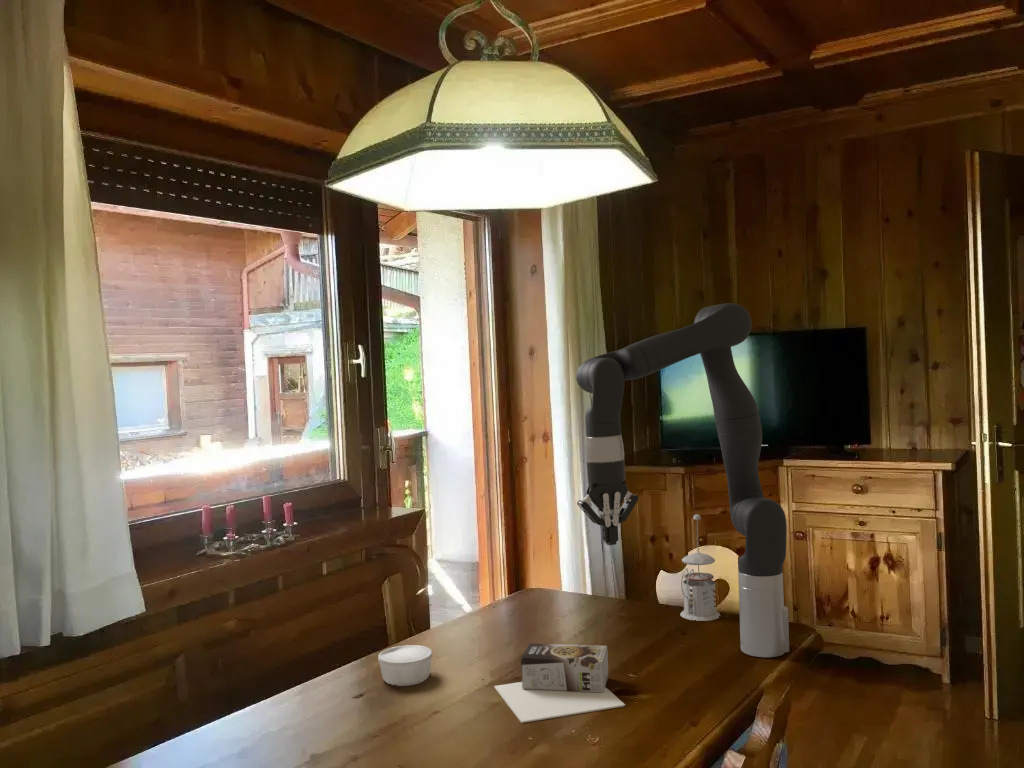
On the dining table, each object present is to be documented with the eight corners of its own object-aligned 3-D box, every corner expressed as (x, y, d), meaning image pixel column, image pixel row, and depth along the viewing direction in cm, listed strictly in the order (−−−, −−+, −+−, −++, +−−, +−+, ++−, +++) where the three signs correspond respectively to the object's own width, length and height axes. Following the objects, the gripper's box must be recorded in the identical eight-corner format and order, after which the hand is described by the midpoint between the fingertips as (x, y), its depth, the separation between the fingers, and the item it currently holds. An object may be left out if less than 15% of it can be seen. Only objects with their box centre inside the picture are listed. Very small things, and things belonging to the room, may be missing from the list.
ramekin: (401, 665, 184) (400, 641, 184) (444, 673, 178) (443, 648, 178) (367, 683, 174) (366, 657, 174) (411, 692, 169) (410, 665, 169)
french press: (728, 613, 212) (724, 513, 212) (703, 625, 204) (700, 520, 203) (693, 606, 219) (690, 509, 218) (668, 617, 210) (664, 516, 210)
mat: (588, 673, 175) (588, 671, 175) (625, 706, 158) (624, 704, 158) (494, 687, 169) (494, 685, 169) (521, 723, 152) (521, 721, 152)
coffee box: (603, 660, 163) (520, 657, 166) (604, 693, 163) (521, 690, 167) (607, 644, 172) (528, 641, 175) (608, 675, 172) (529, 672, 176)
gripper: (627, 453, 176) (632, 536, 177) (567, 459, 172) (573, 545, 173) (643, 456, 169) (649, 543, 170) (581, 463, 165) (587, 552, 165)
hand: (610, 544), depth 171 cm, fingers closed
